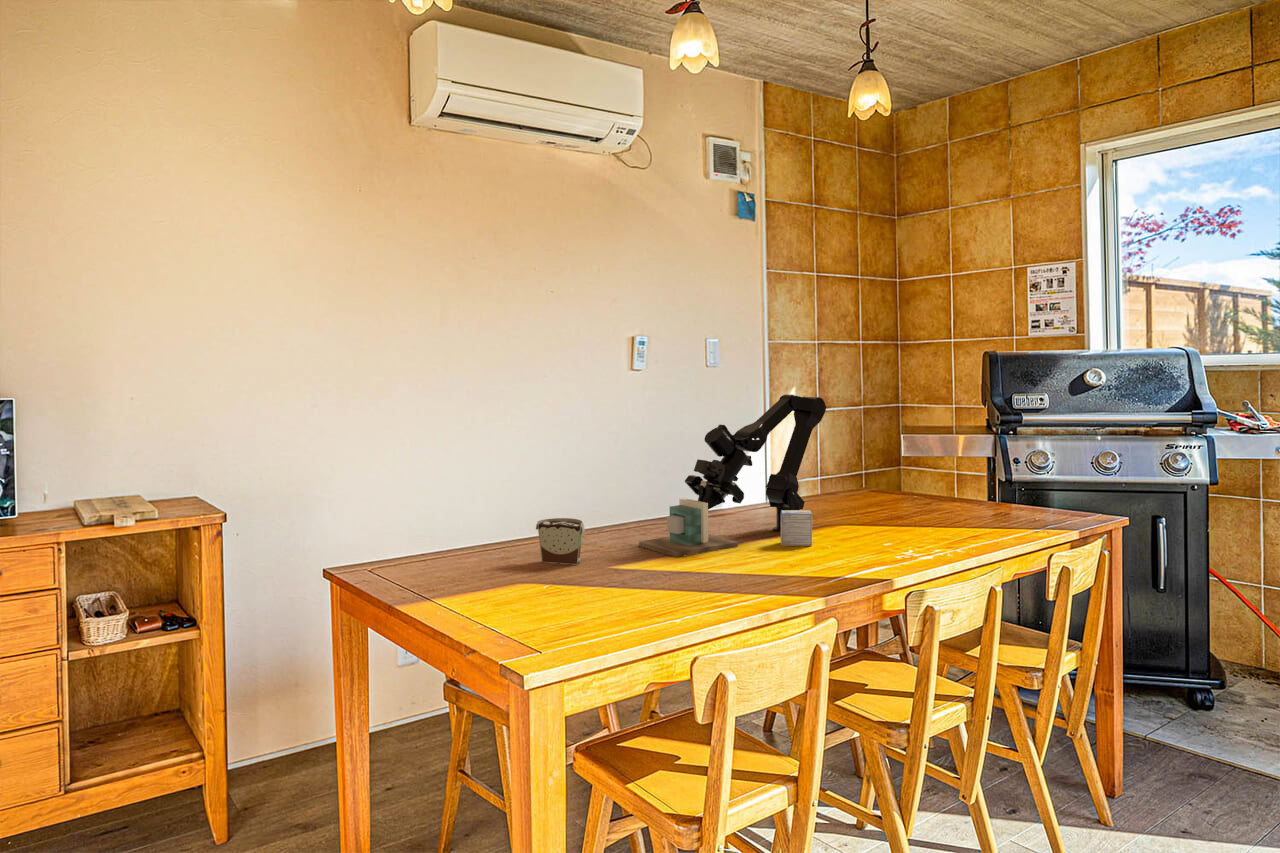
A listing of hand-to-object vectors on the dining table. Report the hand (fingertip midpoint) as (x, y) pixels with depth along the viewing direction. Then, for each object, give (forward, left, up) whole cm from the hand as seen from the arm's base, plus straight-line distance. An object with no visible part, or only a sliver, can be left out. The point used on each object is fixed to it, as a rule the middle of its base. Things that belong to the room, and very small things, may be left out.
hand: (696, 513), depth 222 cm
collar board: (+2, -1, -8) cm, 8 cm away
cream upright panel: (+4, -2, -7) cm, 8 cm away
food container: (+30, -22, -8) cm, 38 cm away
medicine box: (-11, +23, -8) cm, 27 cm away
